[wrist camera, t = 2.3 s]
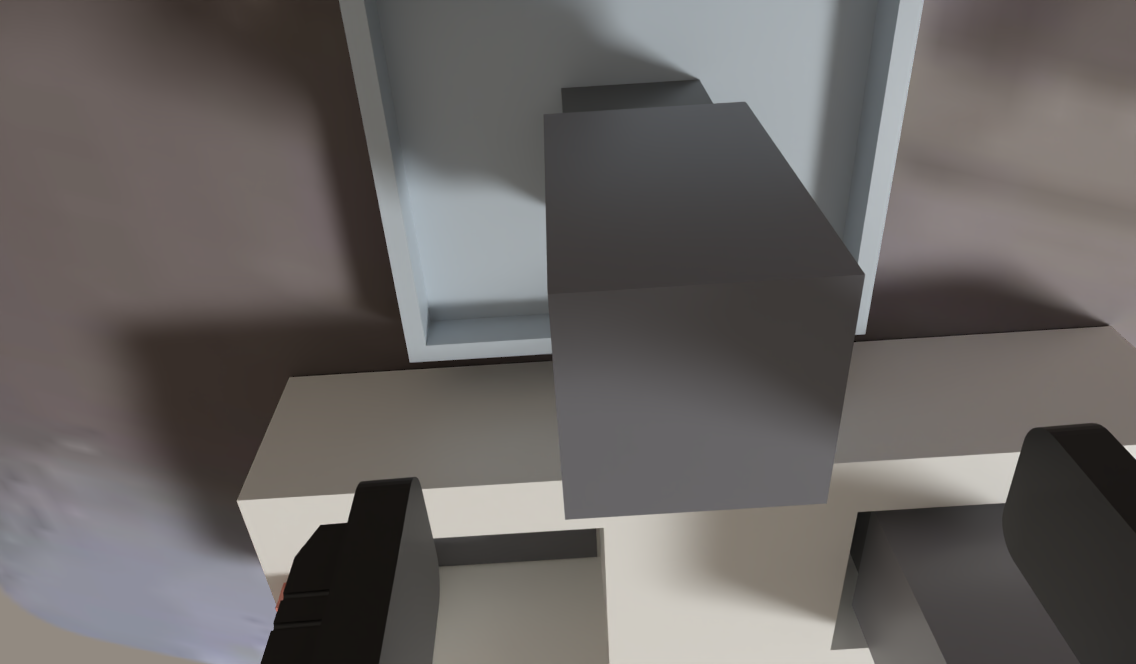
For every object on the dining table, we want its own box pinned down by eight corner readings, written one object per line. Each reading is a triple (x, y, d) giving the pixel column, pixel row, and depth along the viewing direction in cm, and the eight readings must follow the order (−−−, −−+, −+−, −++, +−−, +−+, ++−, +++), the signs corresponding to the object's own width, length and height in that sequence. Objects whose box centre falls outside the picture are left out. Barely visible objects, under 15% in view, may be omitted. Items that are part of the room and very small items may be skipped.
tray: (346, -66, 17) (328, -53, 16) (905, -102, 17) (940, -92, 16) (418, 325, 23) (409, 362, 21) (843, 298, 23) (865, 334, 21)
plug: (542, 71, 19) (547, 293, 10) (717, 60, 19) (864, 274, 10) (553, 230, 21) (565, 520, 12) (710, 220, 21) (827, 503, 12)
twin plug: (837, 433, 24) (996, 768, 16) (972, 425, 24) (1201, 756, 16) (821, 528, 26) (953, 866, 18) (945, 520, 26) (1134, 855, 18)
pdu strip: (289, 377, 24) (225, 525, 19) (1111, 326, 24) (1258, 461, 19) (350, 582, 29) (313, 742, 24) (1031, 540, 29) (1131, 691, 24)
